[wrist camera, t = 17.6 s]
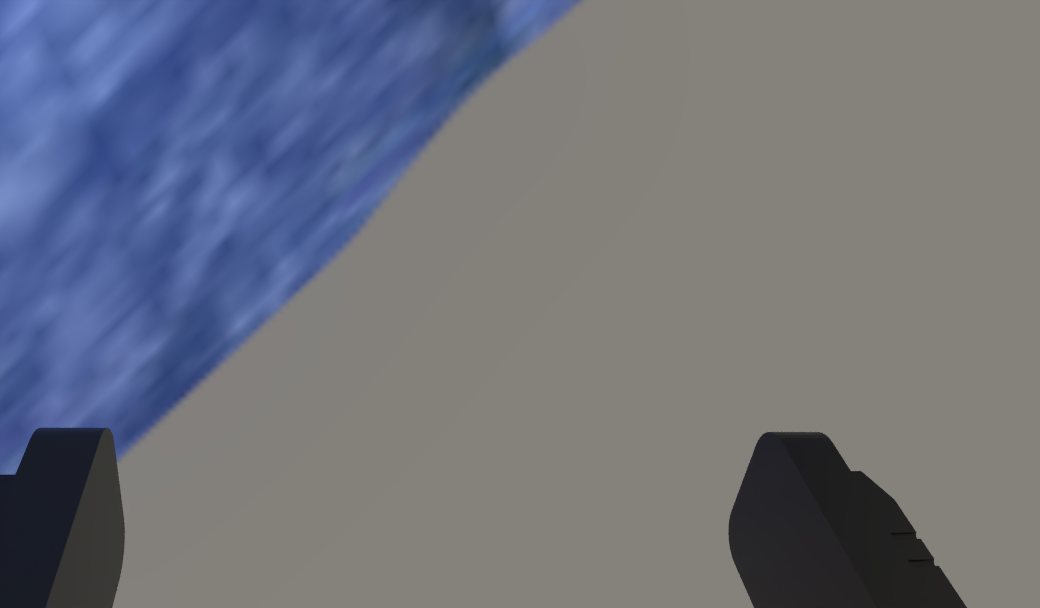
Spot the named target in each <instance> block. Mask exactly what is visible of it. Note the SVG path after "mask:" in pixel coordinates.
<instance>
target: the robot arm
mask: <svg viewBox="0 0 1040 608" xmlns="http://www.w3.org/2000/svg"><path fill="white" fill-rule="evenodd" d="M124 533H125V527H124V516H123V508H122V501H121V493H120V485H119V477H118V469H117V461H116V454H115V446H114V439H113V435H112V432H111V430H110V429H109V428H38V429H37V430H35V432H34V433H33V435H32V437H31V439H30V441H29V443H28V446H27V448H26V451H25V453H24V455H23V458H22V460H21V463H20V465H19V467H18V470H17V472H16V475H0V608H112V606H113V602H114V598H115V594H116V590H117V587H118V582H119V578H120V574H121V569H122V562H123V554H124V538H125V535H124ZM729 544H730V550H731V554H732V557H733V560H734V563H735V565H736V568H737V570H738V572H739V574H740V577H741V579H742V581H743V583H744V586H745V588H746V590H747V593H748V595H749V597H750V599H751V602H752V604H753V606H754V608H967V607H966V606H965V604H964V603H963V601H962V600H961V598H960V597H959V595H958V594H957V592H956V591H955V589H954V588H953V586H952V585H951V584H950V582H949V580H948V579H947V577H946V576H945V574H944V573H943V571H942V570H941V568H940V567H939V566H935V565H934V558H933V556H932V555H931V554H930V552H929V551H928V549H927V548H926V546H925V545H924V543H923V542H922V540H921V539H917V538H916V531H915V530H914V528H913V527H912V525H911V524H910V522H909V521H908V519H907V518H906V516H905V515H904V513H903V512H902V510H901V509H900V507H899V506H898V504H897V503H896V501H895V500H894V499H893V498H892V497H891V496H890V495H888V494H887V493H886V492H885V491H884V490H883V489H881V488H880V487H879V486H878V485H876V484H875V483H874V482H873V481H872V480H871V479H870V478H868V477H867V476H866V475H865V474H864V473H862V472H861V471H850V469H849V468H848V466H847V465H846V463H845V461H844V460H843V458H842V457H841V455H840V454H839V452H838V450H837V449H836V447H835V446H834V444H833V443H832V441H831V440H830V439H829V438H828V437H827V436H826V435H825V434H823V433H820V432H767V433H765V434H763V435H762V436H761V437H760V439H759V440H758V442H757V444H756V447H755V450H754V452H753V455H752V458H751V460H750V463H749V466H748V468H747V471H746V474H745V477H744V479H743V482H742V485H741V487H740V490H739V493H738V495H737V498H736V501H735V503H734V506H733V509H732V512H731V515H730V520H729Z"/></svg>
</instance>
